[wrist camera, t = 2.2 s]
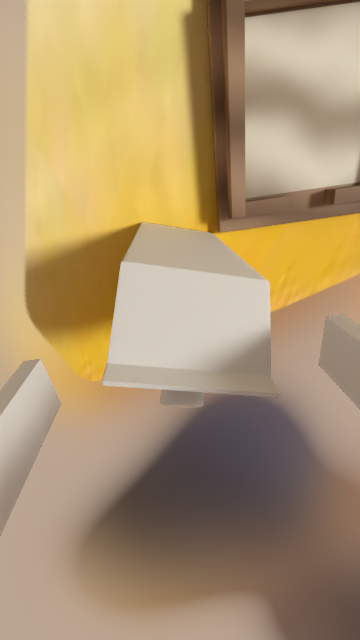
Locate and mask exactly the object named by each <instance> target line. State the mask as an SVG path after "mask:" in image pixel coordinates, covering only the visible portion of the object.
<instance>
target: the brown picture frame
mask: <svg viewBox="0 0 360 640" xmlns="http://www.w3.org/2000/svg"><path fill="white" fill-rule="evenodd" d="M207 20H208V39H209V58H210V78H211V97H212V116H213V136H214V155H215V174H216V194H217V213H218V231H219V232H220V233H221V232H228V231H235V230H242V229H249V228H256V227H263V226H270V225H277V224H284V223H291V222H298V221H305V220H312V219H319V218H326V217H333V216H340V215H347V214H354V213H360V0H207Z"/></svg>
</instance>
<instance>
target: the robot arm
mask: <svg viewBox="0 0 360 640" xmlns="http://www.w3.org/2000/svg"><path fill="white" fill-rule="evenodd" d="M319 366H320V367H321V368H322V369H323V370H324V371H325V372H326V373H327V374H328V375H329V376H330V378H331V379H332V380H333V381H334V382H335V383H336V384H337V385H338V386H339V387H340V388H341V389H342V390H343V392H345V394H346V395H347V396H348V397H349V398H350V399H351V400H352V401H353V402H354V403H355V404H356V406H357V407H358V408H359V409H360V325H358V324H357V323H355V322H354V321H352V320H351V319H349V318H348V317H346V316H345V315H343V314H339V315H332V316H327V317H326V320H325V327H324V333H323V340H322V346H321V353H320V359H319ZM60 405H61V402H60V400H59V398H58V396H57V394H56V391H55V389H54V387H53V385H52V383H51V381H50V378H49V376H48V374H47V372H46V370H45V368H44V365H43V363H42V361H41V359H36V360H29V361H24V362H23V363H22V364H21V365H20V366H19V368H18V369H17V370H16V372H15V373H14V374H13V375H12V377H11V378H10V379H9V380H8V382H7V383H6V384H5V385H4V387H3V388H2V389H1V391H0V536H1V533H2V531H3V529H4V527H5V525H6V523H7V520H8V518H9V516H10V514H11V511H12V509H13V507H14V505H15V503H16V501H17V499H18V496H19V494H20V492H21V490H22V488H23V485H24V483H25V481H26V479H27V477H28V474H29V472H30V470H31V468H32V466H33V464H34V461H35V459H36V457H37V455H38V453H39V451H40V448H41V446H42V444H43V442H44V440H45V438H46V435H47V433H48V431H49V429H50V426H51V424H52V422H53V420H54V418H55V416H56V414H57V411H58V409H59V407H60Z"/></svg>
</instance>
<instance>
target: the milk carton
mask: <svg viewBox="0 0 360 640" xmlns="http://www.w3.org/2000/svg"><path fill="white" fill-rule="evenodd" d="M270 339H271V338H270V282H269V281H267V280H266V279H265V278H264V277H263V276H261V275H260V274H259V273H258V272H257V271H256V270H254V269H253V268H252V267H251V266H250V265H249V264H247V263H246V262H245V261H244V260H243V259H242V258H240V257H239V256H238V255H237V254H236V253H235V252H233V251H232V250H231V249H230V248H229V247H228V246H226V245H225V244H224V243H223V242H222V241H221V240H219V239H218V238H217V237H216V236H215V235H214V234H212V233H209V232H203V231H197V230H191V229H184V228H178V227H172V226H165V225H159V224H152V223H145V222H142V223H141V225H140V227H139V229H138V231H137V233H136V235H135V237H134V239H133V241H132V243H131V245H130V247H129V249H128V250H127V252H126V254H125V256H124V258H123V260H122V262H121V265H120V272H119V279H118V287H117V294H116V301H115V308H114V316H113V323H112V330H111V337H110V345H109V352H108V359H107V365H106V369H105V372H104V375H103V379H102V384H103V385H105V386H118V387H133V388H149V389H161V390H162V391H161V398H160V399H161V400H160V403H161V404H162V405H165V406H173V407H200V406H202V405H203V392H206V393H207V392H208V393H221V394H235V395H250V396H265V397H279V396H280V394H281V393H280V391H279V389H278V388H277V386H276V384H275V383H274V381H273V379H272V378H271V340H270Z"/></svg>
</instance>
